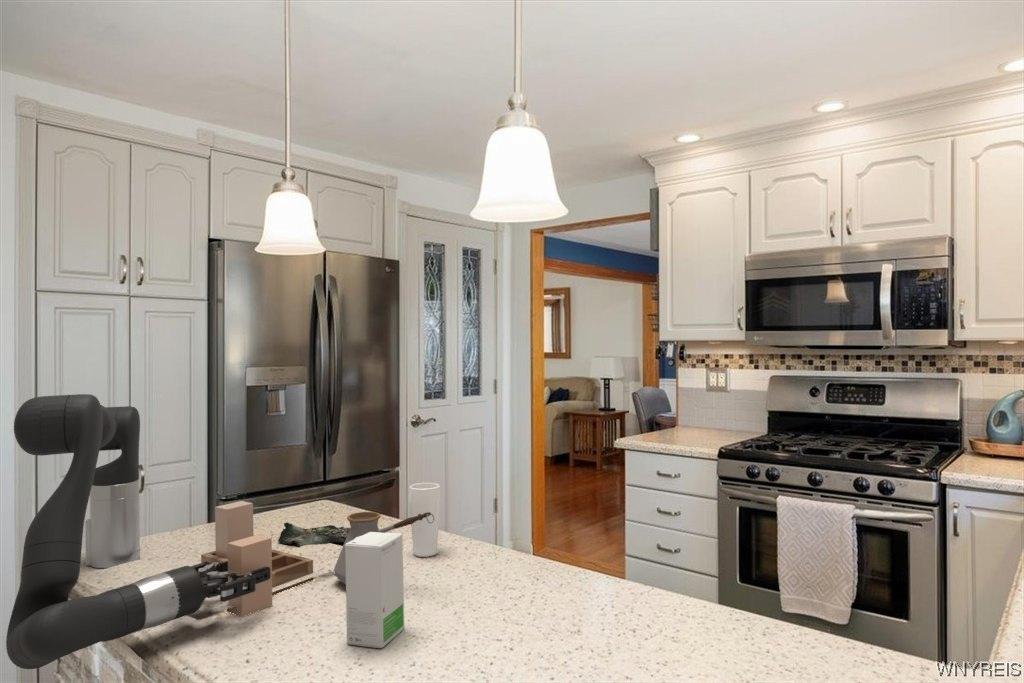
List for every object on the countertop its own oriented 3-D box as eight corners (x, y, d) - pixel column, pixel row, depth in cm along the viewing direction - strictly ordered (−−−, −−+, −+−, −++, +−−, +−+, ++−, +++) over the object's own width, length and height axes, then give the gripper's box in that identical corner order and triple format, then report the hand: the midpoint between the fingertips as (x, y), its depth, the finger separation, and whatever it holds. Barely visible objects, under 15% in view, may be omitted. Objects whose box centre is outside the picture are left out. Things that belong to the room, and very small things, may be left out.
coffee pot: (321, 587, 128) (320, 508, 128) (359, 568, 139) (358, 495, 139) (416, 605, 119) (415, 520, 119) (449, 583, 130) (448, 505, 130)
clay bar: (228, 612, 117) (227, 543, 117) (258, 600, 122) (257, 534, 122) (242, 617, 115) (241, 546, 115) (272, 605, 120) (271, 538, 120)
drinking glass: (447, 552, 149) (446, 484, 149) (427, 560, 143) (426, 490, 143) (423, 547, 153) (422, 481, 152) (403, 555, 147) (402, 486, 147)
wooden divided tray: (201, 574, 136) (200, 554, 136) (244, 560, 145) (244, 542, 145) (269, 596, 124) (269, 574, 124) (313, 580, 132) (313, 559, 132)
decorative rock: (321, 512, 170) (370, 513, 164) (322, 537, 170) (371, 539, 164) (265, 527, 153) (318, 529, 147) (266, 555, 152) (319, 557, 146)
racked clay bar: (215, 566, 137) (215, 507, 137) (242, 557, 142) (241, 500, 142) (227, 569, 135) (226, 509, 135) (253, 561, 140) (253, 503, 140)
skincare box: (381, 650, 102) (380, 547, 102) (343, 645, 104) (341, 544, 104) (406, 627, 110) (404, 532, 110) (369, 623, 112) (368, 529, 112)
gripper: (188, 582, 102) (279, 553, 115) (139, 565, 110) (229, 540, 123) (189, 632, 102) (280, 597, 115) (140, 611, 110) (230, 581, 123)
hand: (254, 567), depth 119 cm, fingers open, 8 cm apart
